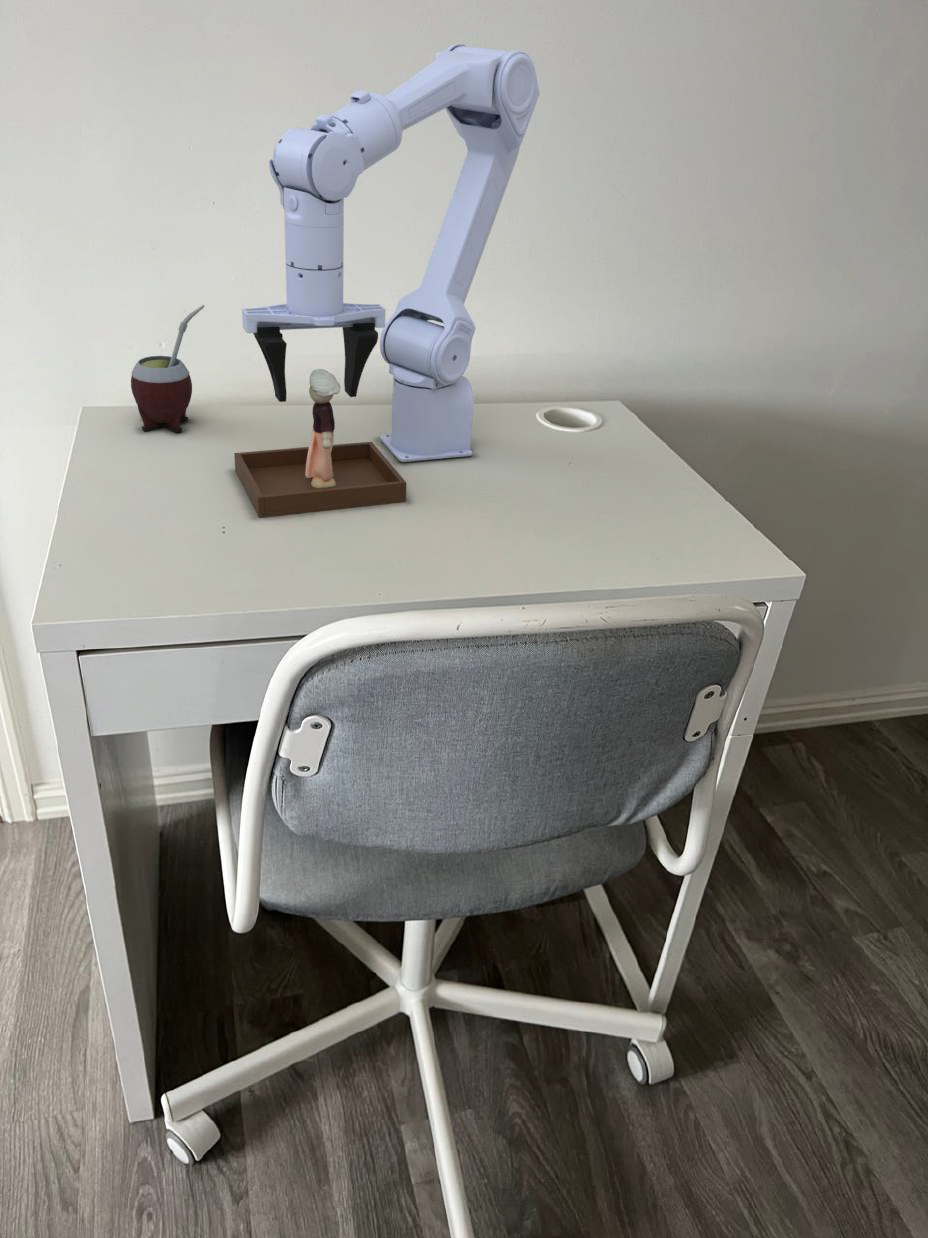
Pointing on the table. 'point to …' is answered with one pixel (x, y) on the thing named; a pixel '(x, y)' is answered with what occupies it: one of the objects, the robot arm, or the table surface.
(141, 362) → the mate gourd
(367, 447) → the tray
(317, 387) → the grandmother figurine
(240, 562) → the table surface
